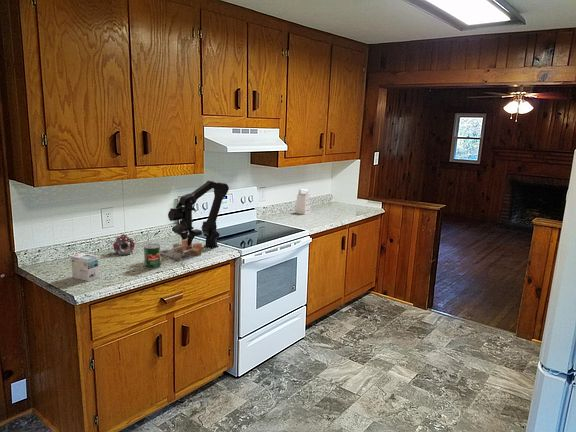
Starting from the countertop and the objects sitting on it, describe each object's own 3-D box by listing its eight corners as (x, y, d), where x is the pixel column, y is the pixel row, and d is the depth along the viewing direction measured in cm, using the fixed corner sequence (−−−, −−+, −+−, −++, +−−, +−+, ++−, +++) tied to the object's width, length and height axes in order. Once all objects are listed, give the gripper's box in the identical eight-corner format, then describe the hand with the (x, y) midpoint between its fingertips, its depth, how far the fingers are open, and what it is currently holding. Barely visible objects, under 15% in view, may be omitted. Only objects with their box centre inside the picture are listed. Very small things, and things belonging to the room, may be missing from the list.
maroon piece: (114, 253, 235) (112, 233, 239) (113, 260, 244) (110, 241, 248) (136, 251, 240) (134, 231, 245) (134, 258, 249) (131, 239, 253)
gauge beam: (178, 247, 258) (178, 237, 257) (202, 254, 247) (202, 243, 246) (160, 252, 248) (160, 241, 247) (185, 259, 237) (185, 248, 235)
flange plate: (167, 250, 251) (167, 249, 251) (191, 258, 240) (191, 256, 240) (155, 253, 245) (155, 252, 245) (180, 261, 234) (180, 259, 234)
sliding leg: (188, 249, 253) (188, 238, 252) (192, 250, 252) (191, 239, 250) (170, 254, 243) (170, 242, 242) (174, 255, 241) (174, 243, 240)
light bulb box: (100, 277, 206) (99, 255, 204) (88, 281, 200) (87, 259, 198) (83, 273, 210) (82, 252, 208) (71, 277, 204) (70, 255, 202)
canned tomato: (154, 263, 229) (153, 243, 227) (163, 266, 225) (163, 245, 222) (141, 266, 223) (140, 246, 220) (151, 270, 218) (150, 249, 216)
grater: (300, 210, 382) (301, 188, 378) (310, 212, 377) (311, 189, 373) (294, 212, 373) (295, 189, 369) (305, 214, 368) (306, 190, 364)
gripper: (164, 218, 245) (164, 245, 249) (187, 223, 235) (187, 251, 238) (179, 215, 254) (180, 241, 258) (202, 220, 244) (202, 247, 247)
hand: (187, 245), depth 250 cm, fingers closed on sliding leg, 3 cm apart
